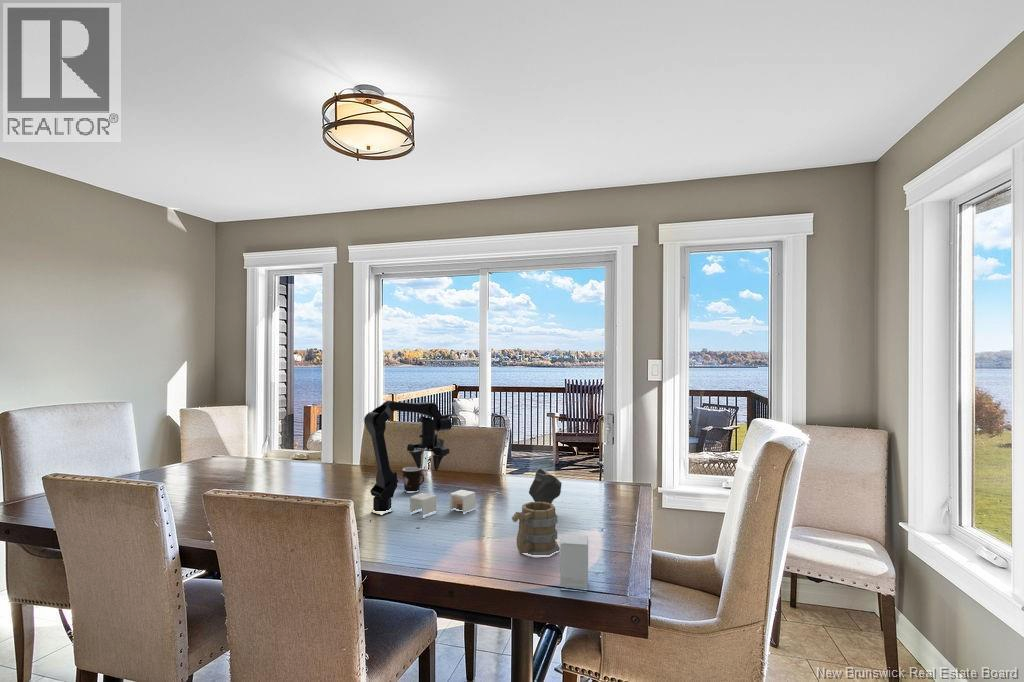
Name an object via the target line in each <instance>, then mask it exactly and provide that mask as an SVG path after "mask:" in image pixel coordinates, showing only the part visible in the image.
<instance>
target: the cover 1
mask: <svg viewBox="0 0 1024 682" xmlns="http://www.w3.org/2000/svg"><path fill="white" fill-rule="evenodd" d="M421 508H422V512H421V514H422V515H425V514H428V513H430V512H433V511H436V512H437V495H436V494H430V493H427V492H425V493H424V492H420V493H418V494H417V493H416V494H415V495H412V496H409V513H410V512H413V511H415V510H418V509H421ZM422 515H421V516H422Z"/></svg>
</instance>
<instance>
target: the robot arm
mask: <svg viewBox="0 0 1024 682" xmlns="http://www.w3.org/2000/svg"><path fill="white" fill-rule="evenodd" d="M394 412H405V413H406V412H408V413H416V414H418V415H421V416H420V417H419V418H418V419H417V420H416V421H417V423H418V422H419V423H421V434H419V435H418V436H419V437H418V438H421V439H420V441H421V443H420V442H413V443H409V444H408V445H407V446H406V451H407V452H409V454H410V455H411V457H412V458H413V461H414V463H415V464H416V467H418V468H421V466H422V455H423V452H432V453H433V455H432V459H433V460H432V461H433V469H434V472H437V471H438V469H439V467H440V464H441V462H442V460H443V458H444V457H445V456H447V455H448V454H450V448H449V446H444V443H445V440H444V439H442V438H439V436H438V434H436V432H444V431H450V430H451V429H452V428H453V422H452V420H451V418H450V415H449V414H442V412H440V410H439V406H438V404H437V403H435V402H431V401H428V402H427V401H421V402H414V403H413V402H401V401H394V400H390V399H389V400H385V401H384V402H383V403H382V404H381V405H379V406H377V407H376V408H374V409H373V410H372V411H369V412H368V413H367V414H365V416H364V419H363V422H364V425H365V427H366V430H367V431H368V433H369V435H370V436H371V441H372V447H373V451H374V452H373V453H374V457H375V462H376V469H377V473H376V476H375V484H374V485H373V486H372V487H371V489H370V491H369V492H370V495H371V496H373V500H372V501H373V502H372V503H373V505H372V506H373V509H372V511H373V510H375V511H386V510H389V509H390V508H391V509H392V498H394V495H395V492H396V489H397V488H398V483H399V480H398V475H397V471H393V470H392V469H391V466H390V465H391V464H390V461H389V455H388V454H389V453H388V450H387V444H386V438H385V432H386V428H387V427H386V426H387V423H386V422H388V420H390V419H391V417H392V415H393V413H394Z"/></svg>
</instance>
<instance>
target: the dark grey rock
mask: <svg viewBox="0 0 1024 682" xmlns="http://www.w3.org/2000/svg"><path fill="white" fill-rule="evenodd" d="M562 483H563V482H562V481H560V480H559V479H558V477H556V476H554V475H553V474H550V473H549V472H548V471H547V470H546V469H545V468H544V467H541V468H539V469H538V470H537V471H535V476H534V479H533V481H532V483H531V484H530V487H529V491H528V493H529V495H530V496H531V497H532V499H533V502H546V503H550V504H553V501H554V500H555V499H557V498H559V497H560V495H561V492H562V485H563V484H562Z"/></svg>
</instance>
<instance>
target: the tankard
mask: <svg viewBox="0 0 1024 682" xmlns="http://www.w3.org/2000/svg"><path fill="white" fill-rule="evenodd" d="M511 520H512V522H514V523H517V522H518V530H517V534H516V547H517V550H518V553H519V554H520V553H528V554H531V555H550V554H552V553H554V552H556V551H559V550H560V546H559V544H558V542H557V539H558V530H557V528H556V524H558V522H557V521H558V515H557V514H556V507H555V505H554V504H553V503H552V504H550V503H546V502H535V501H529V502H527V503H523V504H522V505H521V512H520V511H515V513H514V514H513V515H512V517H511Z"/></svg>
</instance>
